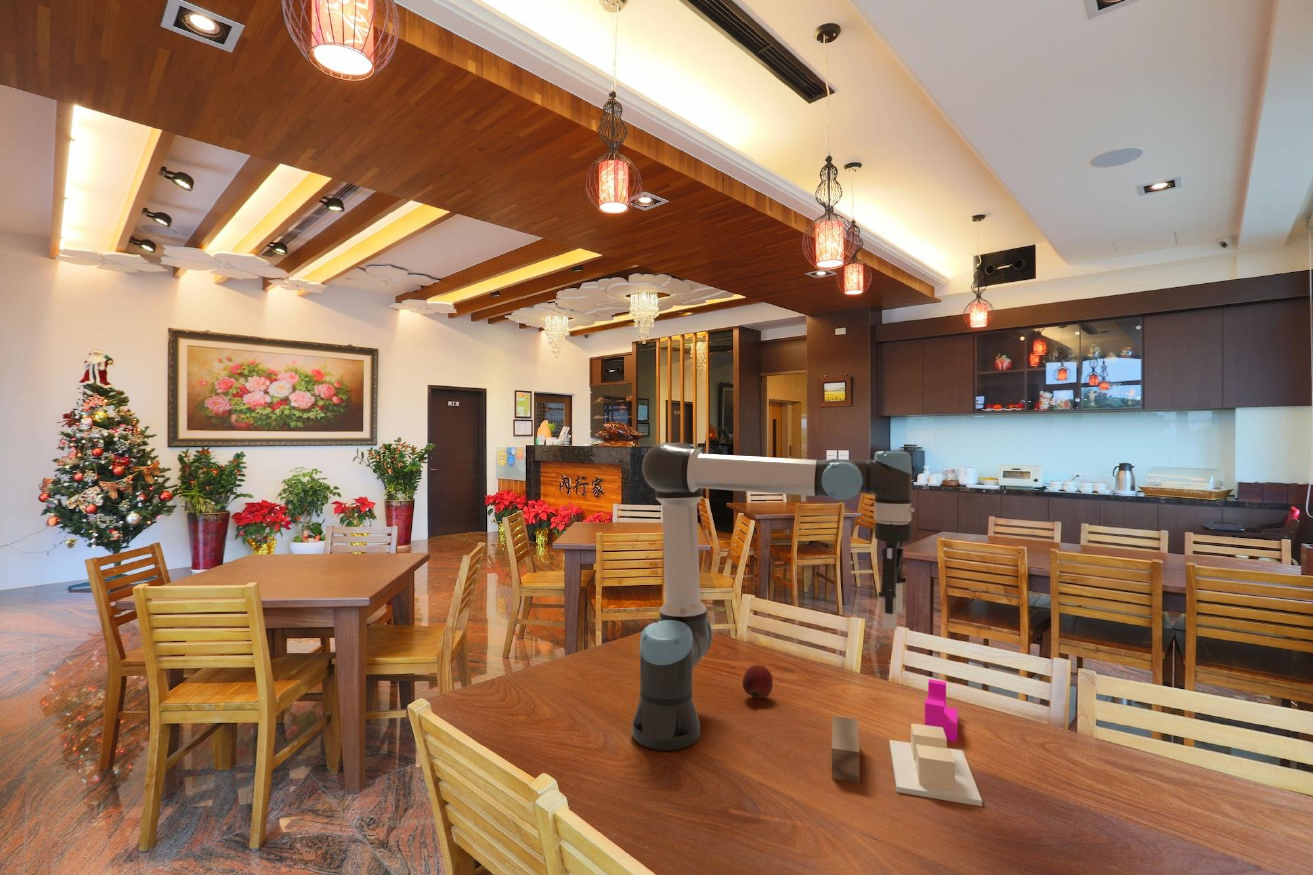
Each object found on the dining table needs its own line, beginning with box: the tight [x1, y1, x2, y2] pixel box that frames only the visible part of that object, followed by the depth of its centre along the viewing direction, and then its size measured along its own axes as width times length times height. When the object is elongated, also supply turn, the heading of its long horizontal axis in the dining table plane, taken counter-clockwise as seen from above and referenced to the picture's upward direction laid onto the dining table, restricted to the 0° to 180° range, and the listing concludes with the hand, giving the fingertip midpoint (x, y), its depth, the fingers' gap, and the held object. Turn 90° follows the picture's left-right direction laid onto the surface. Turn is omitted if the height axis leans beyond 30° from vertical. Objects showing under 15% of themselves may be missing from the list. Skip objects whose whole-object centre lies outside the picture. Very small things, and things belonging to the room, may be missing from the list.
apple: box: [742, 664, 774, 699], centre depth 149 cm, size 7×8×8 cm
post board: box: [889, 723, 983, 807], centre depth 115 cm, size 14×18×6 cm
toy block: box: [924, 678, 959, 743], centre depth 134 cm, size 15×6×8 cm, turn 152°
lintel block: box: [831, 715, 860, 784], centre depth 119 cm, size 5×14×6 cm, turn 163°
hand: (892, 619), depth 128 cm, fingers open, 13 cm apart
